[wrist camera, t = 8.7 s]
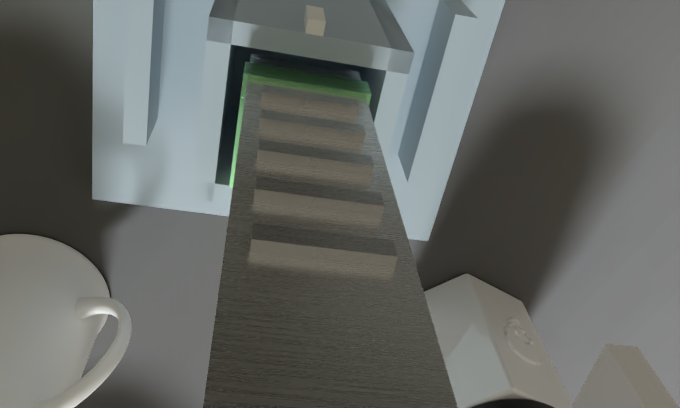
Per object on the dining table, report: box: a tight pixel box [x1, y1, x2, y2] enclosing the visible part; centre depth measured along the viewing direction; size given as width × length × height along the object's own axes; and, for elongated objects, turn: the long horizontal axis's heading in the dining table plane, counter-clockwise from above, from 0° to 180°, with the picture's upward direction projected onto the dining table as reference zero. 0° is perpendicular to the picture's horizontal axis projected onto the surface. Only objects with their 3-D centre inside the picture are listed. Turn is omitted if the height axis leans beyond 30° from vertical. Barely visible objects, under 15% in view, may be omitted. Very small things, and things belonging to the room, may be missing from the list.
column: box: [203, 54, 458, 408], centre depth 16 cm, size 5×5×20 cm
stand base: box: [92, 0, 505, 241], centre depth 27 cm, size 18×18×9 cm
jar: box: [424, 274, 573, 408], centre depth 36 cm, size 9×8×12 cm
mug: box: [0, 234, 132, 408], centre depth 32 cm, size 12×8×12 cm
